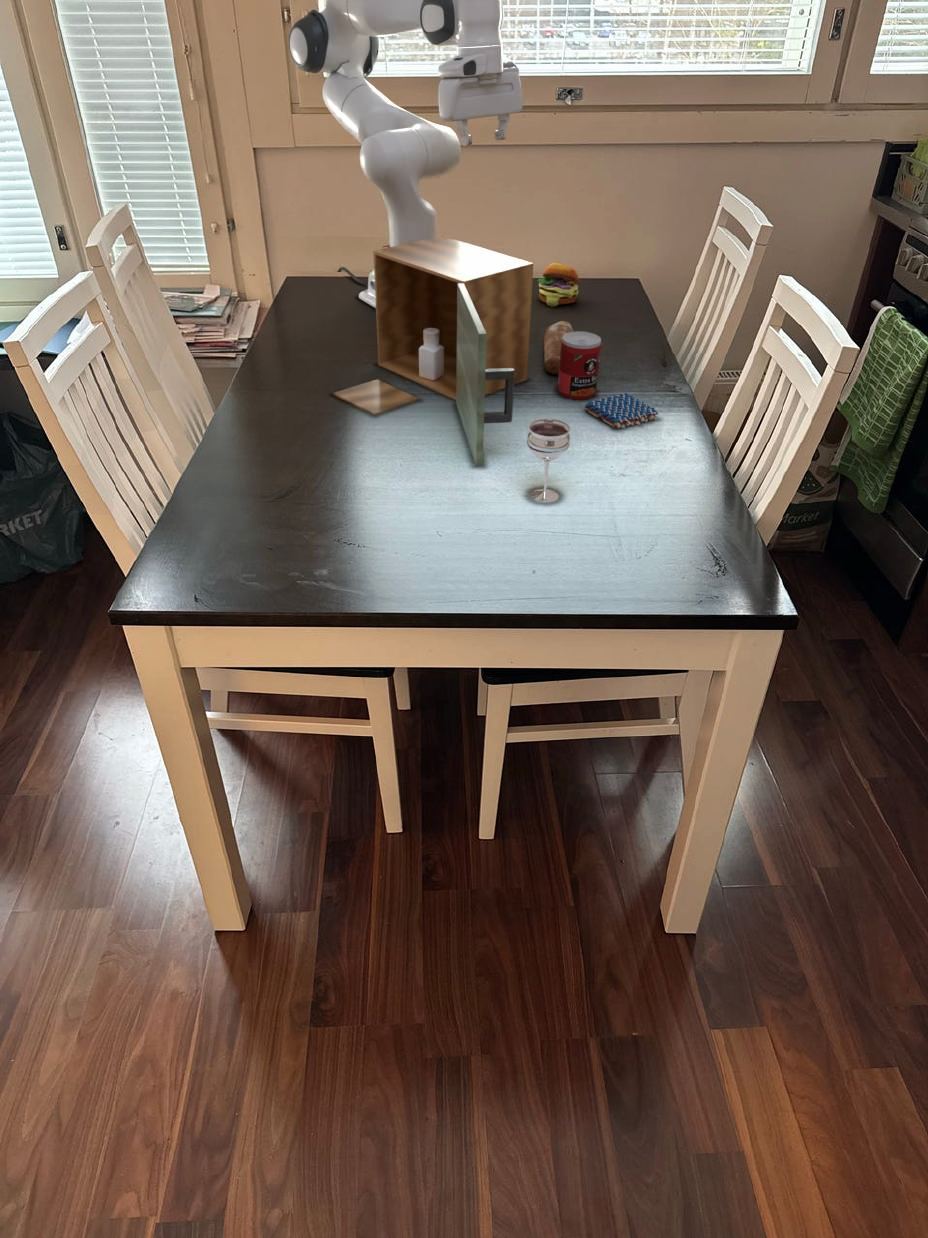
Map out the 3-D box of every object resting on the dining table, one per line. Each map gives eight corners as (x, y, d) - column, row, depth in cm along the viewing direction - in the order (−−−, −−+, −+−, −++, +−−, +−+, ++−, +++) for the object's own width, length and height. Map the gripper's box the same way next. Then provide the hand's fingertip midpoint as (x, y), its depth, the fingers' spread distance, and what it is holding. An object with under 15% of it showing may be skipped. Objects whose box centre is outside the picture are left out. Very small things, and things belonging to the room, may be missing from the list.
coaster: (333, 395, 181) (333, 392, 180) (377, 381, 187) (377, 378, 186) (374, 416, 173) (374, 413, 173) (418, 400, 179) (418, 398, 179)
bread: (573, 345, 204) (575, 320, 201) (565, 378, 189) (567, 351, 186) (545, 343, 205) (546, 318, 202) (534, 375, 190) (536, 349, 187)
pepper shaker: (445, 375, 188) (445, 329, 182) (434, 381, 185) (434, 335, 180) (429, 371, 190) (428, 325, 184) (418, 377, 187) (417, 331, 181)
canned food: (571, 402, 179) (576, 347, 173) (549, 388, 185) (553, 334, 178) (604, 396, 182) (610, 341, 176) (581, 381, 188) (586, 328, 181)
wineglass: (553, 510, 145) (559, 440, 138) (516, 499, 148) (519, 430, 141) (572, 493, 150) (579, 424, 143) (536, 482, 153) (540, 414, 146)
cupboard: (462, 403, 178) (464, 281, 165) (378, 365, 194) (373, 250, 180) (527, 380, 188) (533, 263, 174) (442, 345, 204) (441, 235, 190)
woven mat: (660, 419, 174) (662, 409, 172) (616, 431, 169) (617, 421, 168) (625, 400, 181) (626, 390, 179) (582, 411, 176) (583, 401, 175)
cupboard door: (488, 402, 178) (492, 282, 165) (512, 464, 158) (519, 332, 144) (456, 404, 178) (457, 283, 164) (475, 466, 157) (478, 333, 143)
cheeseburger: (530, 304, 227) (535, 261, 223) (542, 302, 236) (547, 261, 232) (569, 309, 224) (575, 265, 220) (580, 307, 233) (586, 265, 229)
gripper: (507, 60, 189) (509, 136, 196) (431, 67, 178) (436, 147, 185) (529, 59, 185) (530, 137, 192) (452, 66, 174) (457, 148, 181)
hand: (483, 142), depth 188 cm, fingers open, 8 cm apart
